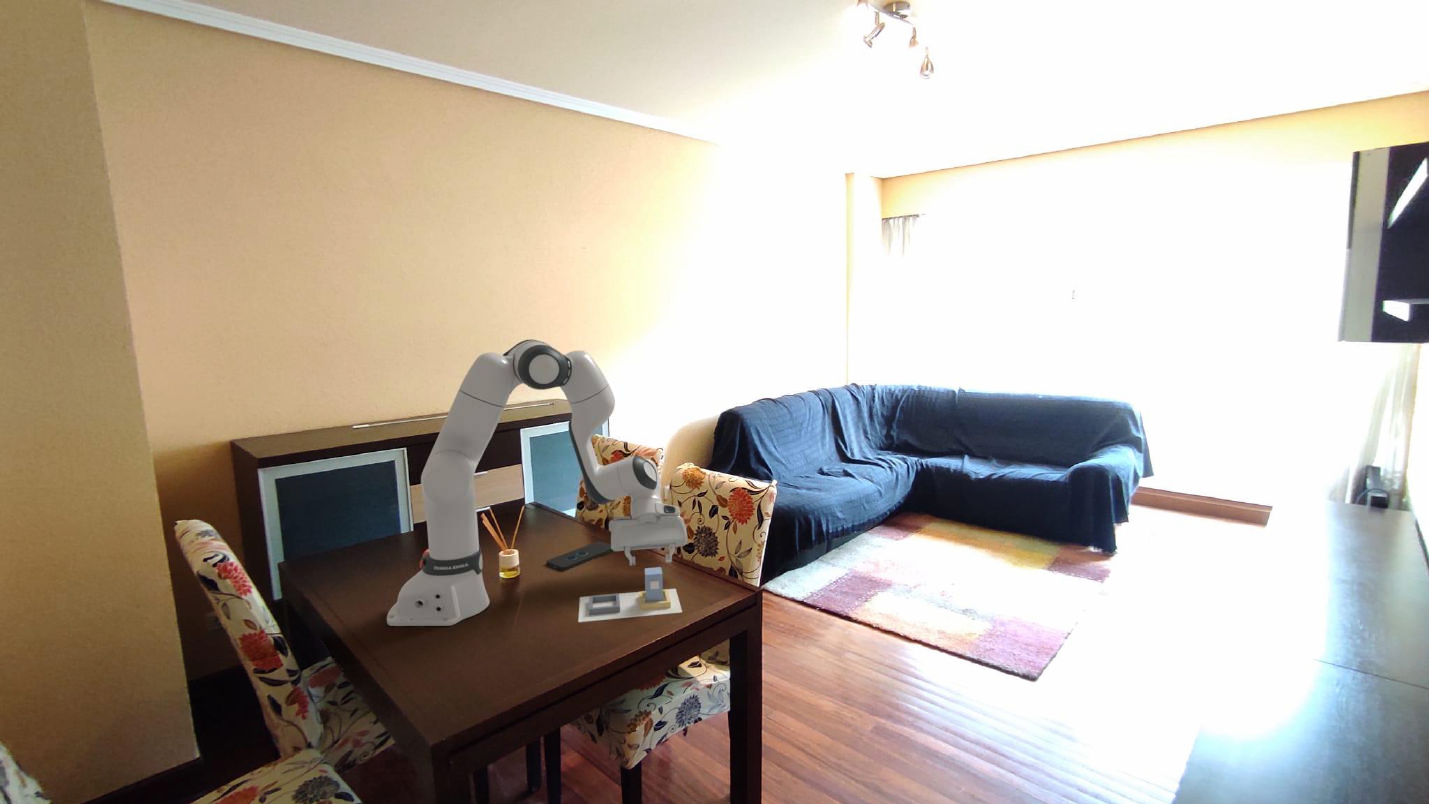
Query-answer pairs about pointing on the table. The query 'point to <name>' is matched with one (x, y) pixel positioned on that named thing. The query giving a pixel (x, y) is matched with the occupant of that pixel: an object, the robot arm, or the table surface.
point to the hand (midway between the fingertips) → (650, 563)
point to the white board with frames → (626, 606)
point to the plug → (653, 584)
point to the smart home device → (580, 556)
